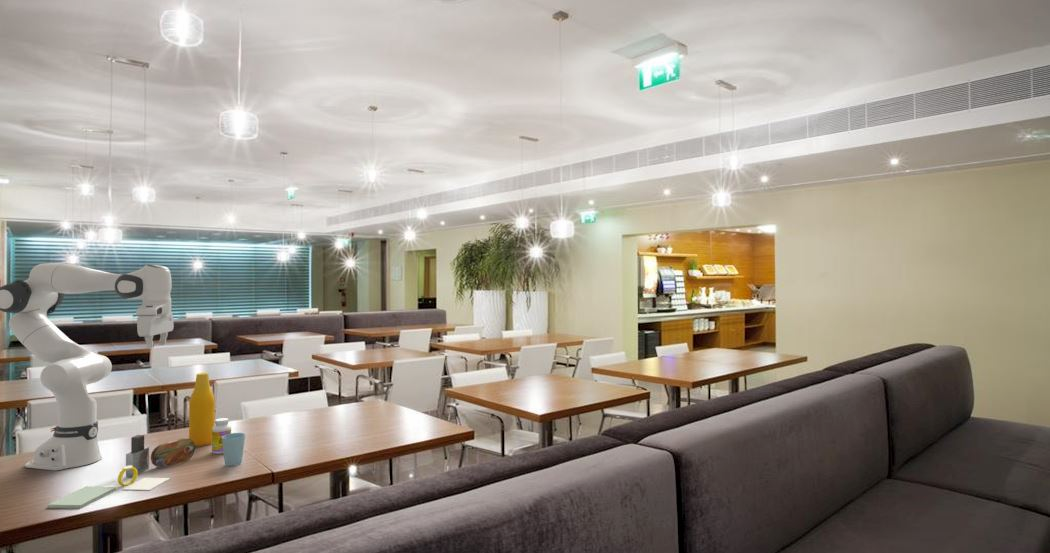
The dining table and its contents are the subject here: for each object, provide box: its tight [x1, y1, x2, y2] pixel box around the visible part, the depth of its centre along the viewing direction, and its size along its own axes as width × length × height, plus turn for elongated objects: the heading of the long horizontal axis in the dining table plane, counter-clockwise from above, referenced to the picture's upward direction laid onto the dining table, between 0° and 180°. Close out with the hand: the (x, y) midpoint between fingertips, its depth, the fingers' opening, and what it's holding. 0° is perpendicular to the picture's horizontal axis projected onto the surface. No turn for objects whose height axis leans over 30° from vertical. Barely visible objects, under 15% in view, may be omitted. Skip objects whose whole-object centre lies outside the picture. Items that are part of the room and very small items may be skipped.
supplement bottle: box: [211, 417, 232, 455], centre depth 216 cm, size 7×7×13 cm
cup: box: [222, 432, 246, 467], centre depth 203 cm, size 8×8×10 cm
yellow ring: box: [117, 465, 139, 487], centre depth 182 cm, size 6×3×6 cm, turn 166°
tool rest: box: [47, 485, 117, 509], centre depth 170 cm, size 10×14×1 cm
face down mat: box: [121, 477, 171, 492], centre depth 182 cm, size 9×10×1 cm
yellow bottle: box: [188, 372, 216, 447], centre depth 226 cm, size 9×9×29 cm
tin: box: [150, 438, 196, 469], centre depth 202 cm, size 15×3×8 cm, turn 154°
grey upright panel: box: [125, 434, 150, 478], centre depth 192 cm, size 2×8×13 cm, turn 179°
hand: (156, 346), depth 200 cm, fingers open, 8 cm apart
